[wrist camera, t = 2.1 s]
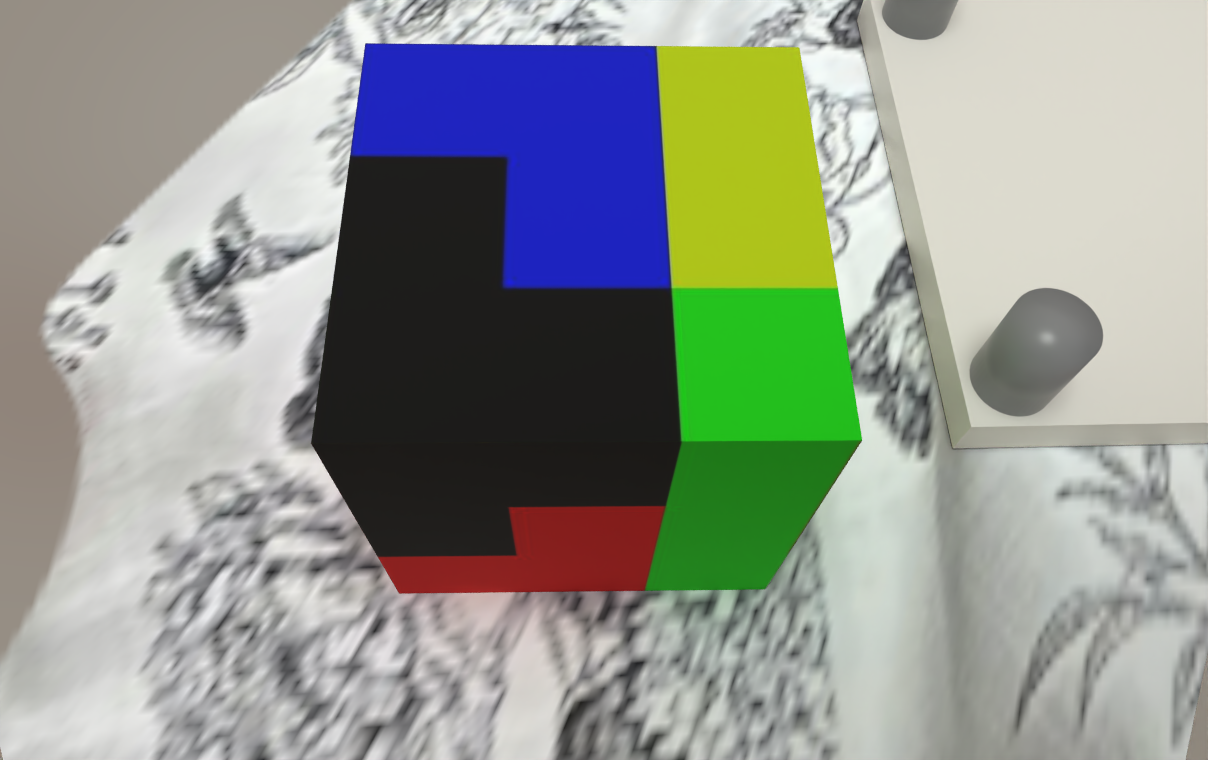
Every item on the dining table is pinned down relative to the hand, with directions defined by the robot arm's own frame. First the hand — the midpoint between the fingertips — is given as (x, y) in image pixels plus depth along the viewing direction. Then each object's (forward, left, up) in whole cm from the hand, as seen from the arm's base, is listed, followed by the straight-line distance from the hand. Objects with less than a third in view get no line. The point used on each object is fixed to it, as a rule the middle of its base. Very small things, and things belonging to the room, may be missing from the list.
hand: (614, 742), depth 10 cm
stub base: (-20, -19, -15) cm, 31 cm away
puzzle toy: (0, -11, -15) cm, 18 cm away
